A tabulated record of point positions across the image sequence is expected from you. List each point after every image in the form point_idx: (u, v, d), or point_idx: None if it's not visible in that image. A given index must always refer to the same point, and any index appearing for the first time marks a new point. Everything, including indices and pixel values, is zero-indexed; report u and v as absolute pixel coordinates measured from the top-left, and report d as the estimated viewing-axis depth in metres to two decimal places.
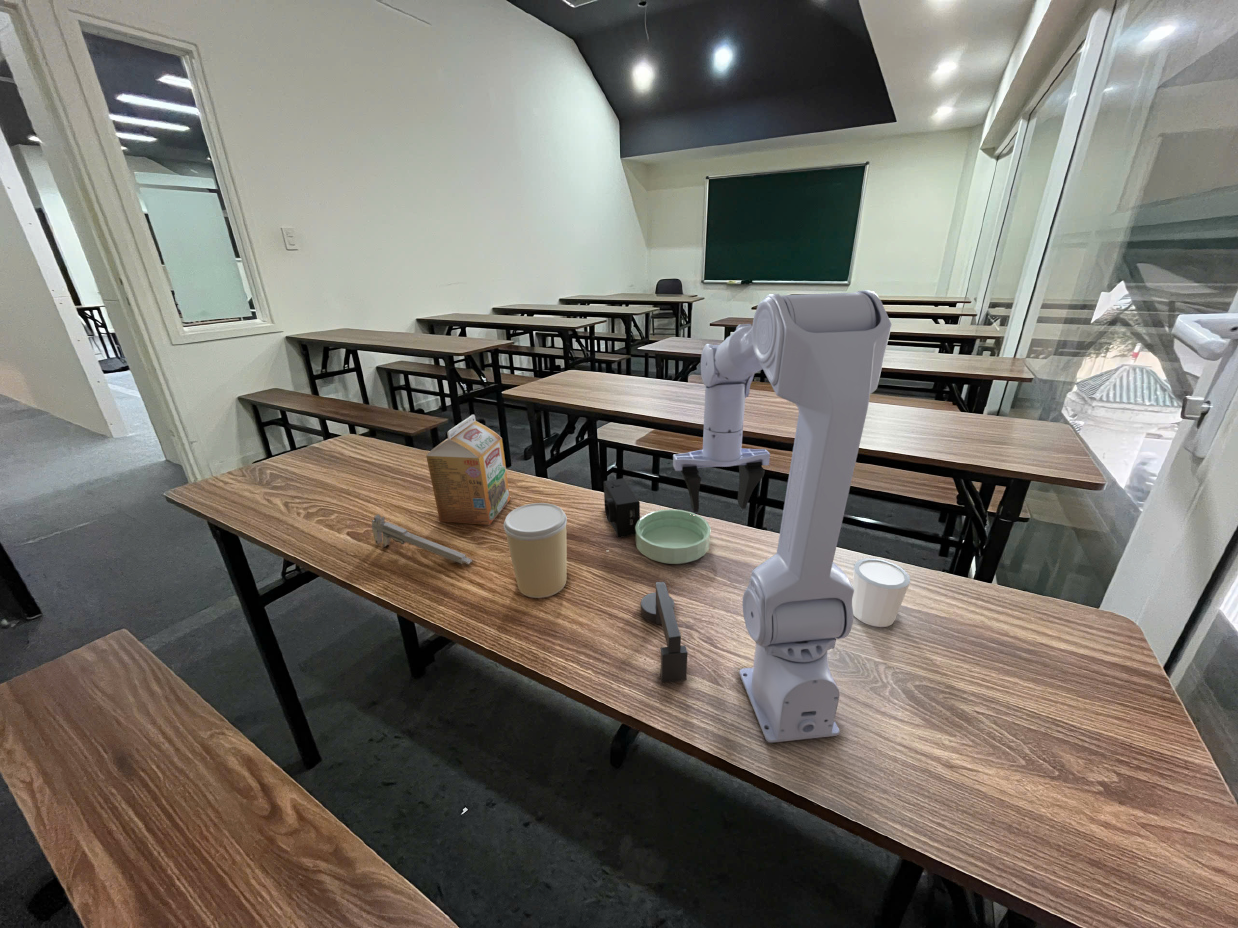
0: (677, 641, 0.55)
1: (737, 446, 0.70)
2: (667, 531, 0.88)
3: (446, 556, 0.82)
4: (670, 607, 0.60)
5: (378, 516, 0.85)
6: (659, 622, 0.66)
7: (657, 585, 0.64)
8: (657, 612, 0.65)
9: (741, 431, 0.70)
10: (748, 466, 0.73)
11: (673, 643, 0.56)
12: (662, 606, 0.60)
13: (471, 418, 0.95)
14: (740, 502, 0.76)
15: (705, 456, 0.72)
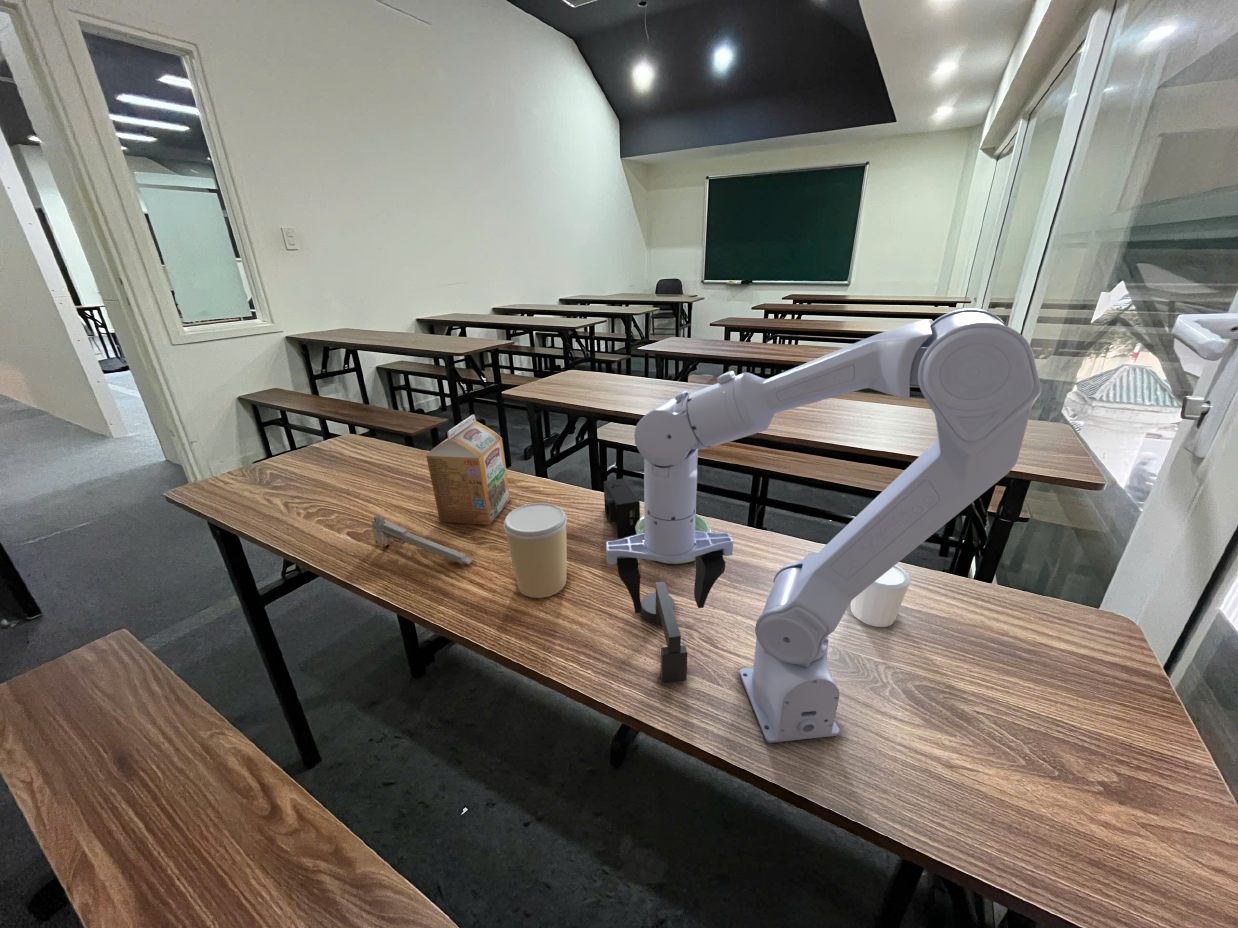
0: (677, 641, 0.55)
1: (688, 535, 0.52)
2: None
3: (446, 556, 0.82)
4: (670, 607, 0.60)
5: (378, 516, 0.85)
6: (659, 622, 0.66)
7: (657, 585, 0.64)
8: (657, 612, 0.65)
9: (693, 516, 0.52)
10: (705, 557, 0.55)
11: (673, 643, 0.56)
12: (662, 606, 0.60)
13: (471, 418, 0.95)
14: (696, 599, 0.58)
15: (647, 546, 0.54)
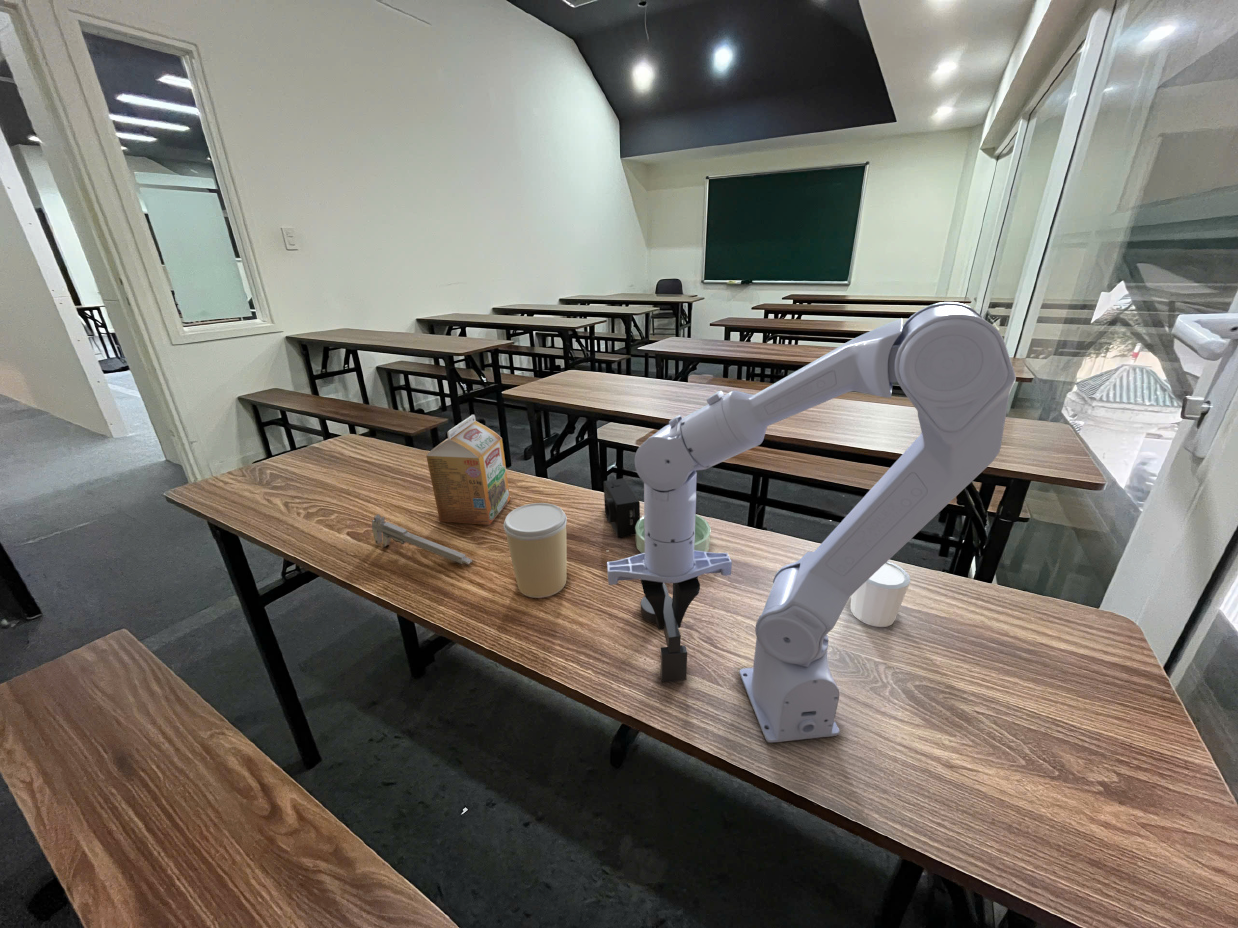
0: (677, 641, 0.55)
1: (687, 557, 0.53)
2: None
3: (446, 556, 0.82)
4: (670, 607, 0.60)
5: (378, 516, 0.85)
6: None
7: None
8: None
9: (692, 538, 0.53)
10: None
11: (673, 643, 0.55)
12: None
13: (471, 418, 0.95)
14: None
15: (647, 566, 0.55)
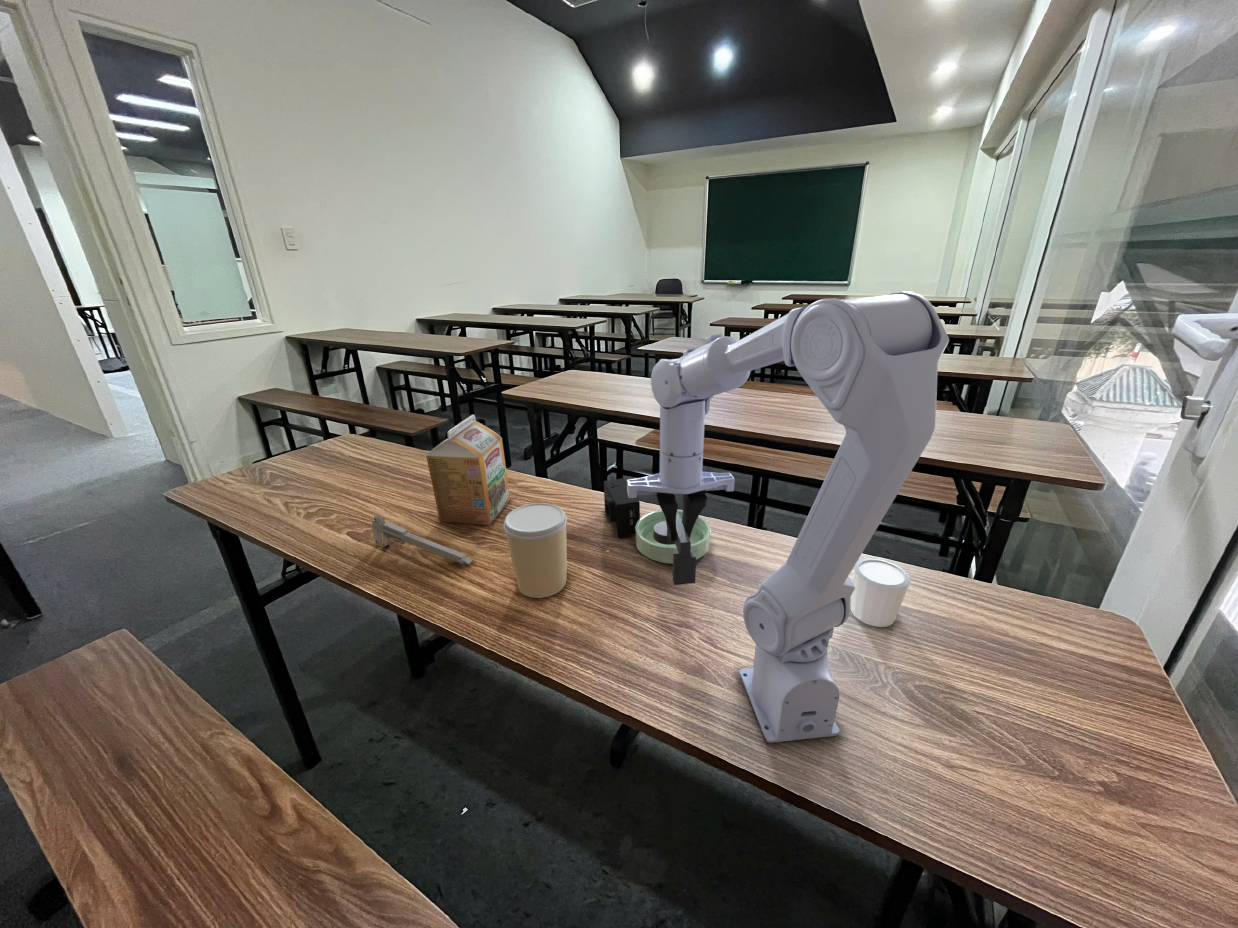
0: (687, 546, 0.64)
1: (697, 471, 0.62)
2: None
3: (446, 556, 0.82)
4: (680, 523, 0.69)
5: (378, 516, 0.85)
6: (670, 543, 0.75)
7: None
8: None
9: (701, 455, 0.62)
10: (690, 494, 0.65)
11: (684, 548, 0.65)
12: None
13: (471, 418, 0.95)
14: None
15: (662, 482, 0.64)
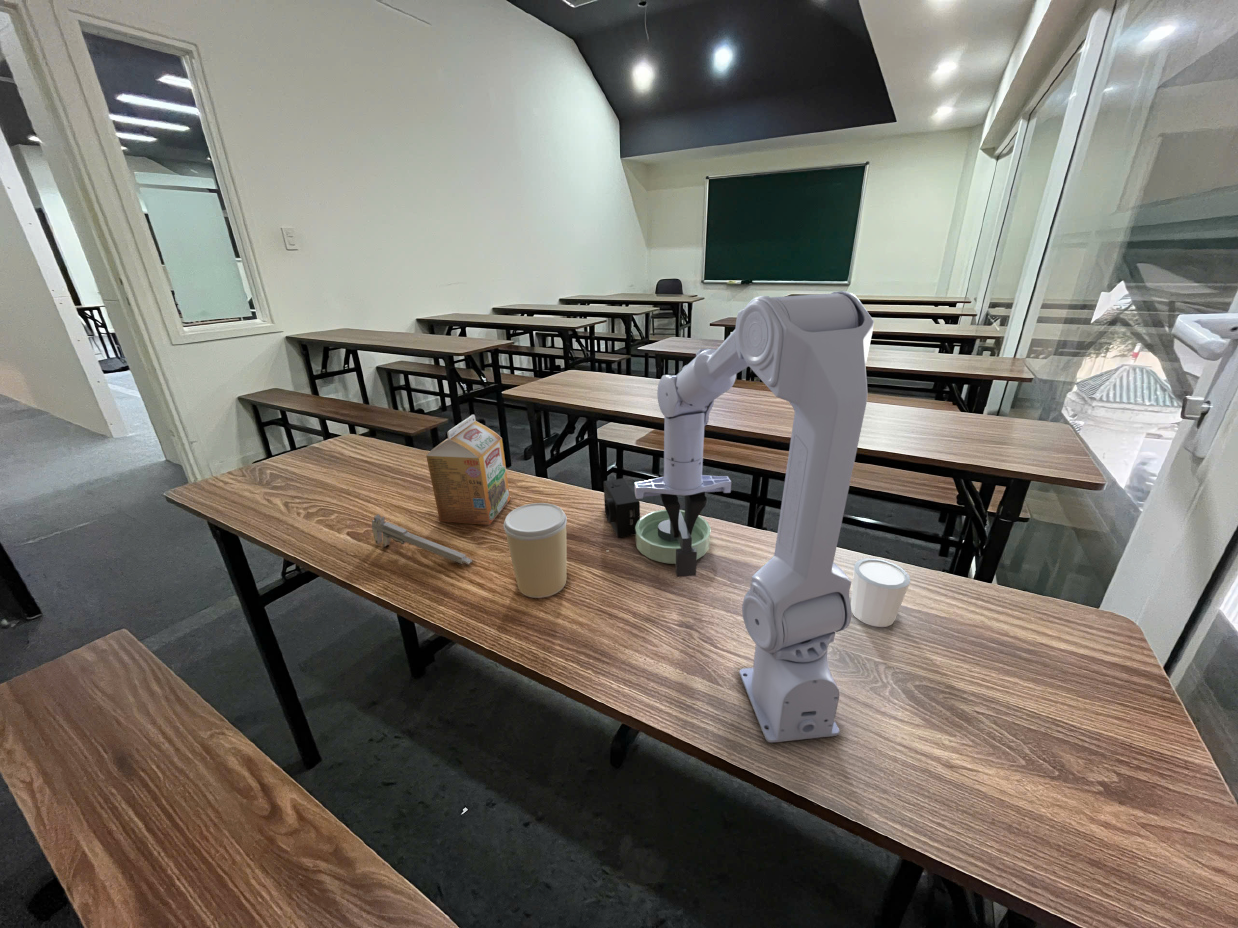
0: (688, 542, 0.72)
1: (697, 475, 0.70)
2: None
3: (446, 556, 0.82)
4: (683, 521, 0.76)
5: (378, 516, 0.85)
6: (673, 539, 0.82)
7: None
8: (671, 531, 0.82)
9: (701, 460, 0.69)
10: (691, 495, 0.73)
11: (686, 544, 0.72)
12: None
13: (471, 418, 0.95)
14: None
15: (666, 484, 0.71)
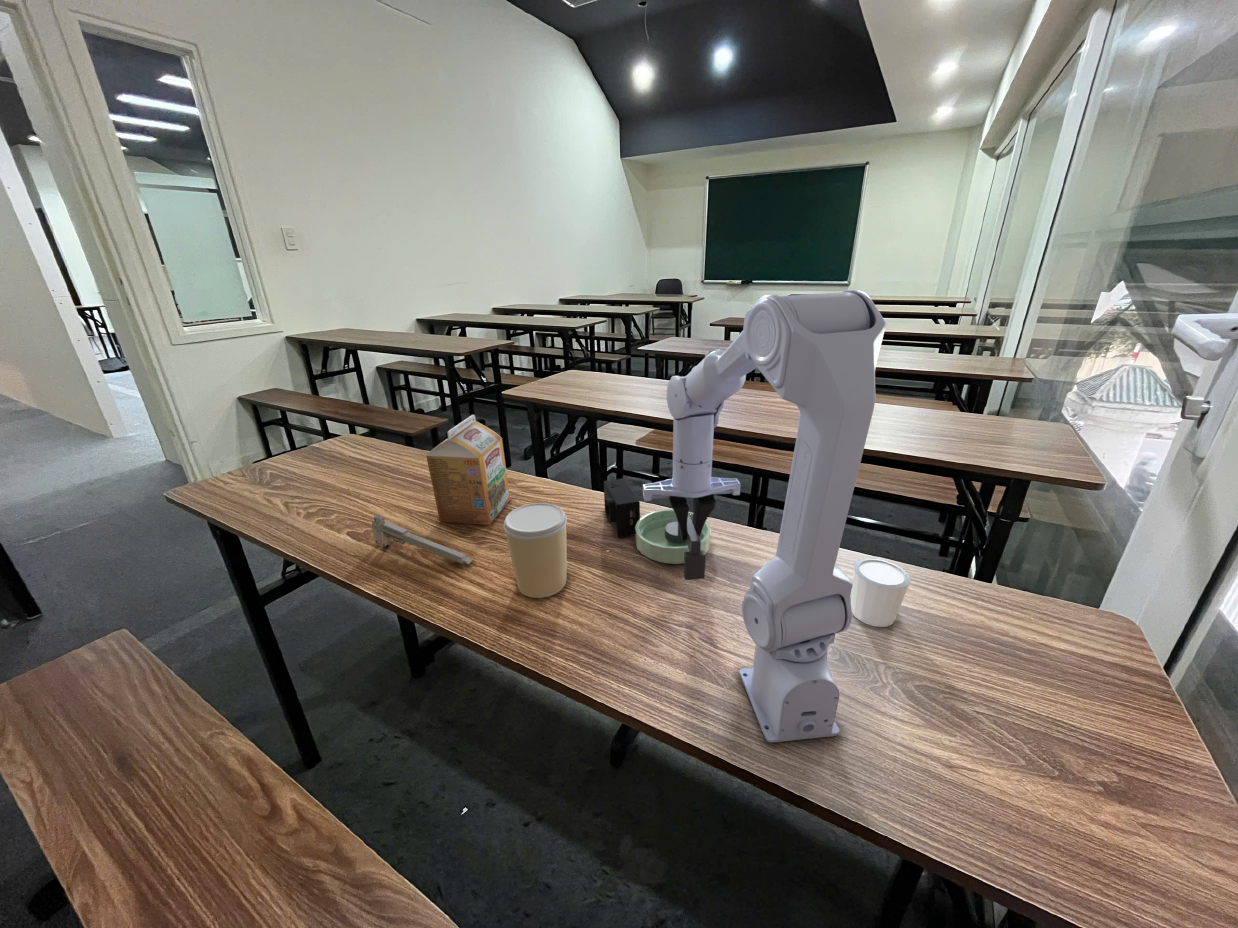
0: (697, 545, 0.71)
1: (706, 477, 0.69)
2: None
3: (446, 556, 0.82)
4: (691, 523, 0.75)
5: (378, 516, 0.85)
6: (680, 542, 0.82)
7: None
8: (679, 533, 0.81)
9: (710, 462, 0.69)
10: (700, 497, 0.72)
11: (695, 546, 0.71)
12: None
13: (471, 418, 0.95)
14: None
15: (674, 486, 0.71)
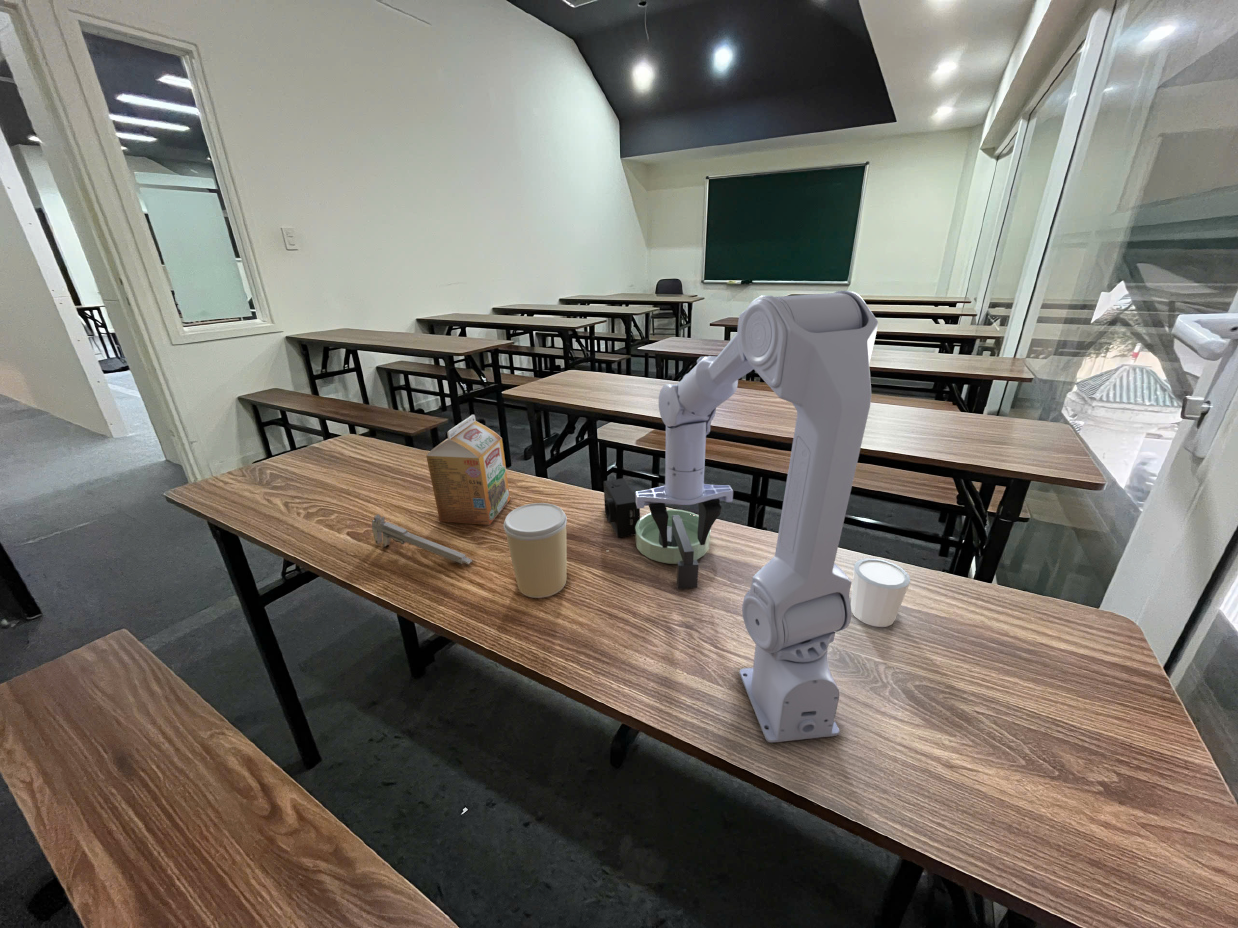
0: (690, 555, 0.71)
1: (699, 484, 0.69)
2: None
3: (446, 556, 0.82)
4: (684, 532, 0.75)
5: (378, 516, 0.85)
6: None
7: (673, 517, 0.79)
8: (673, 539, 0.81)
9: (702, 469, 0.69)
10: (705, 503, 0.72)
11: (688, 557, 0.71)
12: (678, 532, 0.75)
13: (471, 418, 0.95)
14: (699, 538, 0.75)
15: (667, 493, 0.71)
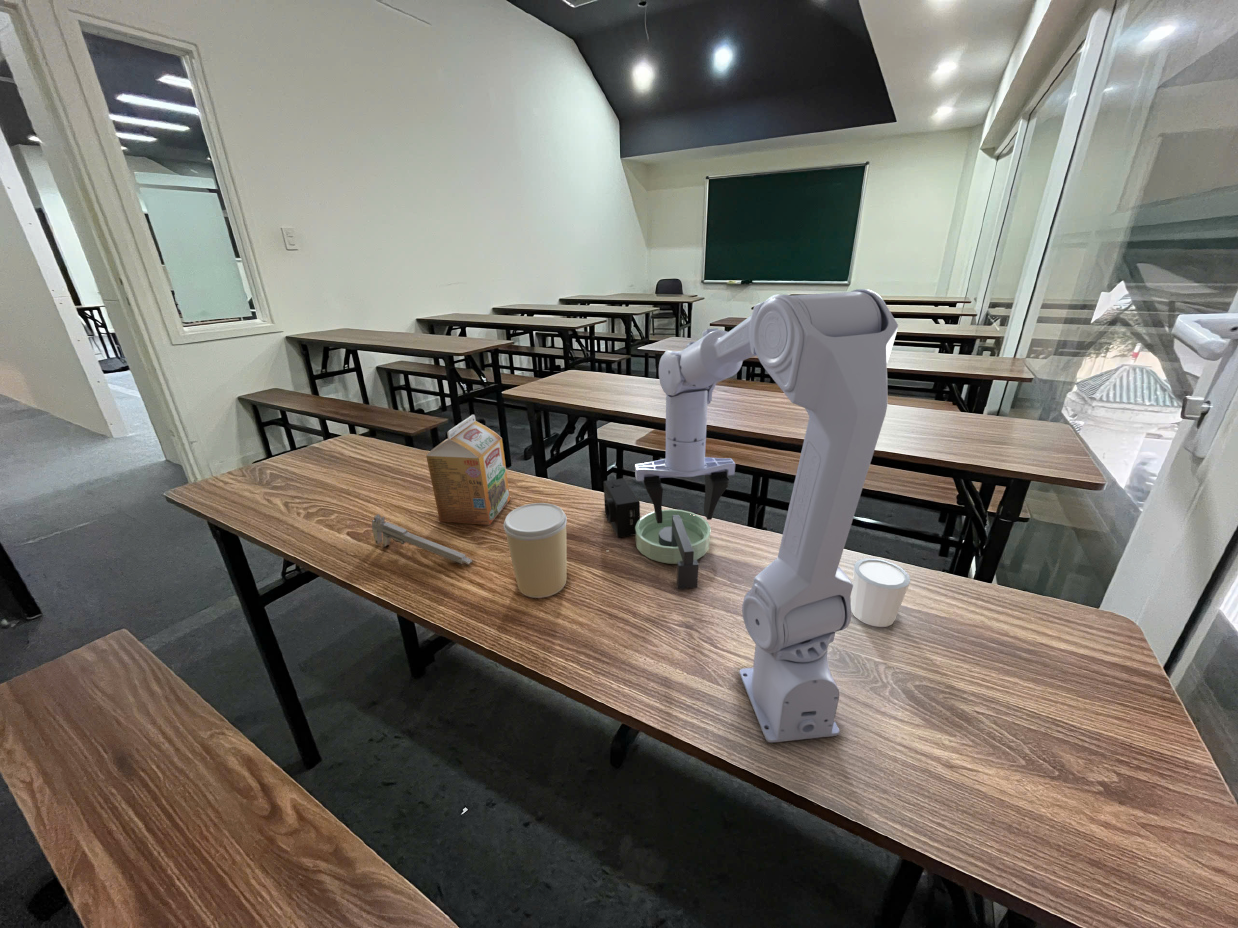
0: (690, 555, 0.71)
1: (700, 455, 0.67)
2: None
3: (446, 556, 0.82)
4: (684, 532, 0.75)
5: (378, 516, 0.85)
6: None
7: (673, 517, 0.79)
8: (673, 539, 0.81)
9: (704, 440, 0.67)
10: (713, 476, 0.70)
11: (688, 557, 0.71)
12: (678, 532, 0.75)
13: (471, 418, 0.95)
14: (706, 513, 0.73)
15: (667, 466, 0.69)
